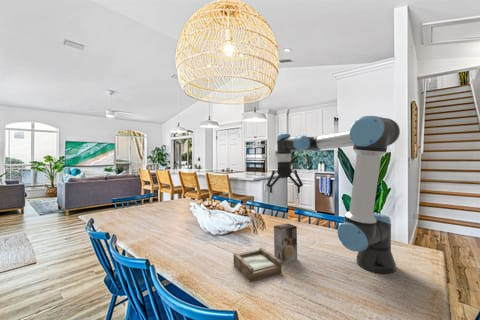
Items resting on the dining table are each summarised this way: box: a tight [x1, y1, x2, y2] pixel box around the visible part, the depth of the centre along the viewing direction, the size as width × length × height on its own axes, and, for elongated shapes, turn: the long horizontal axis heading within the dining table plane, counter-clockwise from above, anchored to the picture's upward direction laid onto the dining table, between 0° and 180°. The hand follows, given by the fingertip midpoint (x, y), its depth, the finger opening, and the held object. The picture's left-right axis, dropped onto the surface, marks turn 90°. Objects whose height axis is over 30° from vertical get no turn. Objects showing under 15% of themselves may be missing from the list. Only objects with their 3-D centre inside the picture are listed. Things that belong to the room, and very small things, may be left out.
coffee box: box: [273, 223, 298, 265], centre depth 111 cm, size 9×6×16 cm
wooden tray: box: [233, 247, 283, 283], centre depth 102 cm, size 16×15×5 cm
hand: (284, 198), depth 132 cm, fingers open, 13 cm apart
